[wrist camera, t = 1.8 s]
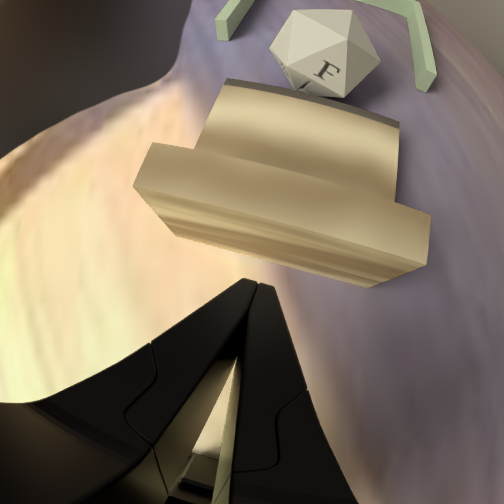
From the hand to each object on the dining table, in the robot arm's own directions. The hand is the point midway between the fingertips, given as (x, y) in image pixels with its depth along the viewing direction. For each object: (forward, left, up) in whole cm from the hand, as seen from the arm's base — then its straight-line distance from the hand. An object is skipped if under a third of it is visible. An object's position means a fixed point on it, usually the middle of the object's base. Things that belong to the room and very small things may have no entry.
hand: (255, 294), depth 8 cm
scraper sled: (+10, 0, -13) cm, 16 cm away
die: (+21, 0, -13) cm, 25 cm away
